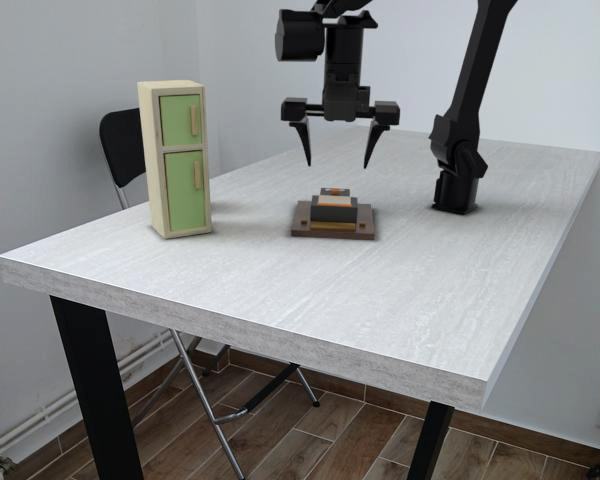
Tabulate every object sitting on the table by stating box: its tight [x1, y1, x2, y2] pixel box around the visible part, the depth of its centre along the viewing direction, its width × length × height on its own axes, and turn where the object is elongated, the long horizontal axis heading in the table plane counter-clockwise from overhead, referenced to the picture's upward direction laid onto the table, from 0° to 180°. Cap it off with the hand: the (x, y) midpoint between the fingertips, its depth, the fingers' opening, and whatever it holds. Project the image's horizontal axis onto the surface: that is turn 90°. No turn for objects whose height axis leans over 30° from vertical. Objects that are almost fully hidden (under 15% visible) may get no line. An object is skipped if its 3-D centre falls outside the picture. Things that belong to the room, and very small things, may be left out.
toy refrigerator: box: [136, 79, 213, 240], centre depth 96 cm, size 8×7×21 cm
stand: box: [290, 200, 375, 241], centre depth 107 cm, size 16×13×2 cm
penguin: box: [310, 187, 359, 223], centre depth 107 cm, size 11×8×3 cm
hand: (337, 167), depth 107 cm, fingers open, 9 cm apart
